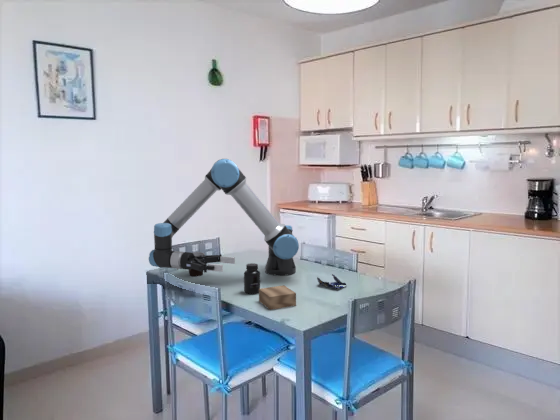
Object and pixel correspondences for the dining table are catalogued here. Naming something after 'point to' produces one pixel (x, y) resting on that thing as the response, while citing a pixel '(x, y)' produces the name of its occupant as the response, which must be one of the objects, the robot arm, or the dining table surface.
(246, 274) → the supplement bottle
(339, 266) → the dining table surface
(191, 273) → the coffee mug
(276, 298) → the foundation block
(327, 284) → the dark blue angular piece
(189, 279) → the dining table surface
